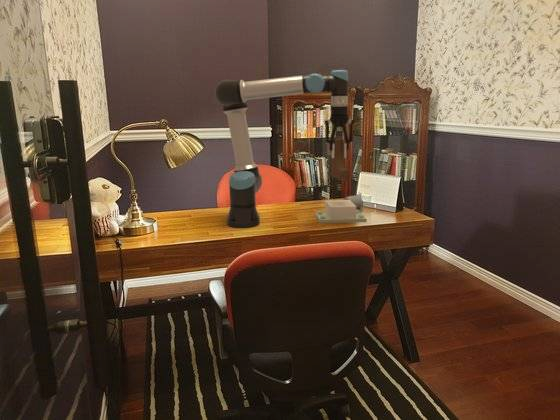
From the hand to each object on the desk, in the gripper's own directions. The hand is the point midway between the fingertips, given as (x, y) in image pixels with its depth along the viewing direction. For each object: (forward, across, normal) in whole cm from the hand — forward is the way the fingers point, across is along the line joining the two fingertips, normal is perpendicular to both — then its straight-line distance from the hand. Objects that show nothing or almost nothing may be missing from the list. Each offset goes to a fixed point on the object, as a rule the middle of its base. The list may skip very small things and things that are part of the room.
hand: (338, 157), depth 206 cm
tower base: (+29, +1, 0) cm, 29 cm away
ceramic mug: (+30, +11, +14) cm, 35 cm away
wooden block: (+10, 0, 0) cm, 10 cm away
